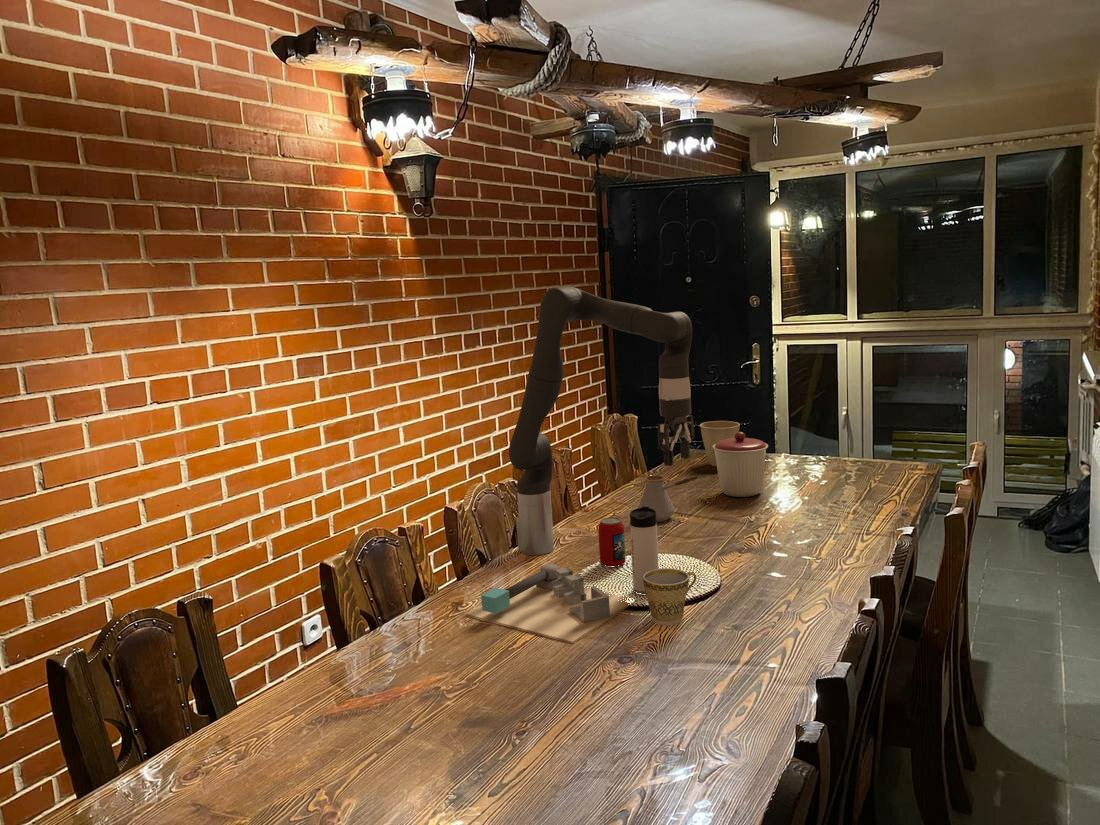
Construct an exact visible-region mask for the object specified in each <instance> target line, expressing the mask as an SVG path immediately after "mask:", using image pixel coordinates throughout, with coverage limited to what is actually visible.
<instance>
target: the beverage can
mask: <svg viewBox="0 0 1100 825" xmlns="http://www.w3.org/2000/svg"><path fill="white" fill-rule="evenodd" d="M625 541H626V540H625V526H624V523H623V522H622V519H621V518H619V517H616V516H615V517H611V516H610V517H609V516H608V517H604V518H602V519H600V522H599V524H598V547H599V550H598V551H599V563H601V565H603V566H604V565H606V566H618V565H621V566H622V565H623V564H625V563H626V542H625ZM606 566H605V567H606Z"/></svg>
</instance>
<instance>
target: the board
mask: <svg viewBox="0 0 1100 825" xmlns="http://www.w3.org/2000/svg"><path fill="white" fill-rule="evenodd" d="M561 584H564V576H562V577H560V576H559V577H558V578H556V579H552V580H544V581H542V582H540V583H538V584H537V585H535V586H533V587H531V588H529V589H527V590H526V591H524V592H522V593H520V594H518V595H516V596H515V597H513V598H511V599H510V606H509V607H507V608H505V609H504V610H502V611H500V612H498V613H496V614H495V613H491V612H487V611H483V610H482V604H481V605H480V606H478V607H476V608H474V609H472V610H470V611H468V612H466V613H465V617H469V618H473V619H477V620H481V621H484V622H489V623H492V624H496V625H499V626H503V627H508V628H511V629H514V630H519V631H523V632H525V633H526V632H527V633H530V634H533V635H538V636H540V637H541V636H542V637H544V638H546V637H547V638H550V639H553V640H555V641H556V640H558V641H561V642H565V643H568V644H572V645H573V644H576V642H578V641H579V640H581V639H582V638H584V637H585V636H587V635H588V634H590V633H591V632H593V631H594V630H595V629H597V628H598V627H600V626H602V625H603V624H604V623H606V622H608V621H610V619H612V618H613V617H615V616H617V615H618V614H619V613H620V612H622V611H624V610H626V609H627V608H628V607H629V606H628V604H630V603H627V602H625V601H626V600H627V597H629V598H630V597H631V596H627V597H625V596H626V595H621V596H619V597H618V595H619V594H617V595H615V594H616V593H612V592H607V591H606V592H607V595H608V596H609V595H610V596H609V606H610V618H606V619H601V620H597V621H593V622H589V623H585V624H584V623H583V622H581V621H580V620H579V619H578V618H576V617H575V616H574V615H573V614H572V613H570V608H571V607H575V606H580V605H581V603H578V604H574V605H568V604H567V603H566V602H564V597H561V598H559V597H557V596H556V595H555V594H554V588H553V586H557V585H561ZM584 592H585V593H586V597H587V600H589V599H591V588H589V587H584ZM609 593H610V594H609ZM611 593H612V594H613V595H612V594H611ZM605 594H606V593H605ZM623 596H624V597H623ZM618 598H619V599H618ZM623 598H624V599H623ZM625 598H626V600H625ZM631 598H633V597H631ZM620 599H622V600H620ZM618 600H619V601H618ZM623 600H624V601H623ZM628 600H629V599H628ZM621 601H622V602H621Z"/></svg>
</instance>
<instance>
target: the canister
mask: <svg viewBox="0 0 1100 825" xmlns="http://www.w3.org/2000/svg"><path fill="white" fill-rule="evenodd" d="M734 437H735V438H731V439H725V440H721V441H719V442H717V443H716V444H714V445H713V449H714V450H715V456H716V463H717V466H716V468H717V476H718V483H719V487H720V490H721V491H722V493H723V494H724V495H726V496H729V497H733V498H734V497H736V498H746V497H753V496H756V495H758V494H760V492H761V491H762V488H763V483H764V475H765V466H766V456H767V455H766V454H767V449H768V448H769V444H768V443H766V442H764V441H763V440H762V439H761V440H760V439H757V438H751V437H750V438H749V437H746V434H745V433H744V432H742V431H739V432H737V433H735V435H734Z"/></svg>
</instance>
